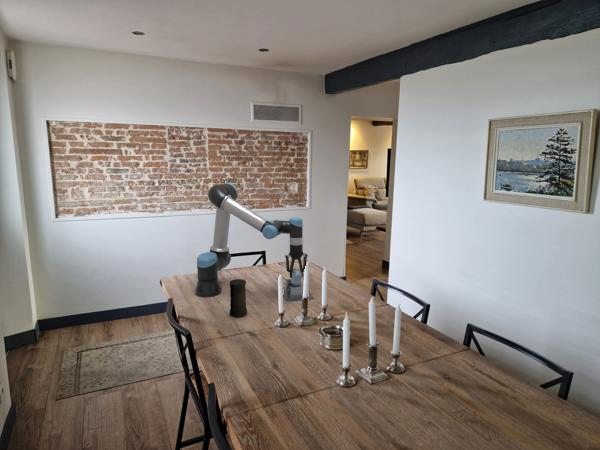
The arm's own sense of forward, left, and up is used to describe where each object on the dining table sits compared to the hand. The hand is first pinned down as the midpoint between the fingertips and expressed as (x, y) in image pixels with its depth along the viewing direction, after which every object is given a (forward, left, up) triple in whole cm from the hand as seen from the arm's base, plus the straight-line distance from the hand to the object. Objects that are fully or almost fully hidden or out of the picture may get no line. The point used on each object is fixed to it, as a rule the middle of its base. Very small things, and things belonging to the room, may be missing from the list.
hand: (296, 282), depth 232 cm
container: (+20, -37, -8) cm, 43 cm away
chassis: (0, 0, -7) cm, 7 cm away
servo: (0, 0, 0) cm, 0 cm away
